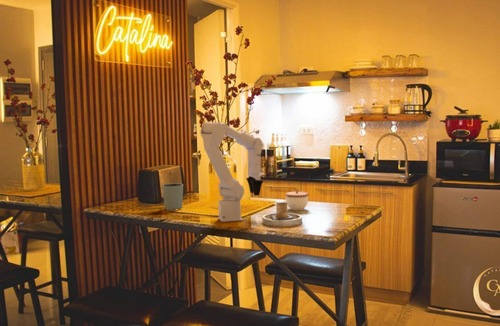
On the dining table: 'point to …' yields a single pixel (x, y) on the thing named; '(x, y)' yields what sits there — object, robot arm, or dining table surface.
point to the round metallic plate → (282, 220)
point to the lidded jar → (297, 200)
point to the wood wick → (281, 209)
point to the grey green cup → (173, 196)
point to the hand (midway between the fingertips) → (254, 194)
